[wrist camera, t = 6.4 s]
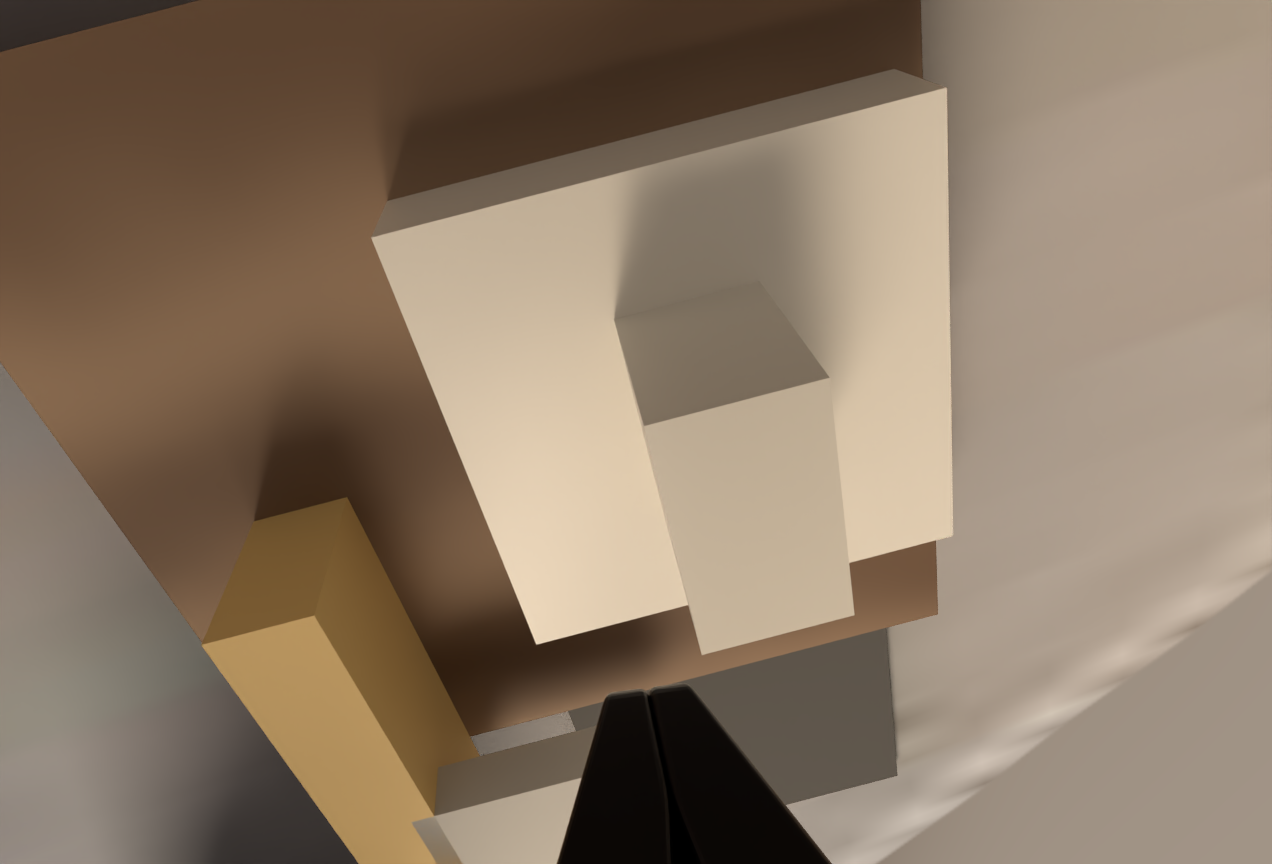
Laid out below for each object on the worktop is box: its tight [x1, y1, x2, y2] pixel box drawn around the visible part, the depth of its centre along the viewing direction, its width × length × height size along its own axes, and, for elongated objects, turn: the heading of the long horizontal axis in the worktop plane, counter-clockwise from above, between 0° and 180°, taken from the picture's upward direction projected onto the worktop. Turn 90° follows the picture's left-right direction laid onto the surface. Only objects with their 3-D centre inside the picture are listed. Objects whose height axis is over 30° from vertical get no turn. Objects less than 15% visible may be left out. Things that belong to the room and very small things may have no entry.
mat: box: [568, 628, 897, 805], centre depth 27 cm, size 10×10×1 cm
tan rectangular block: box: [201, 497, 596, 864], centre depth 18 cm, size 10×6×4 cm, turn 13°
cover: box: [371, 69, 953, 655], centre depth 14 cm, size 9×9×6 cm
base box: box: [0, 0, 938, 736], centre depth 18 cm, size 17×17×3 cm
